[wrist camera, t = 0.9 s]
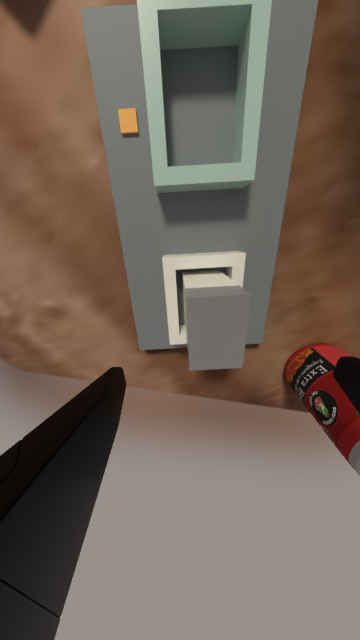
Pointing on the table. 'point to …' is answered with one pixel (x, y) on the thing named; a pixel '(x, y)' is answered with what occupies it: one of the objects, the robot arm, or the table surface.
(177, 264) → the frame
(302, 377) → the canned food
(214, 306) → the plug
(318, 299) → the table surface
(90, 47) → the panel board
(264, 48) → the port
